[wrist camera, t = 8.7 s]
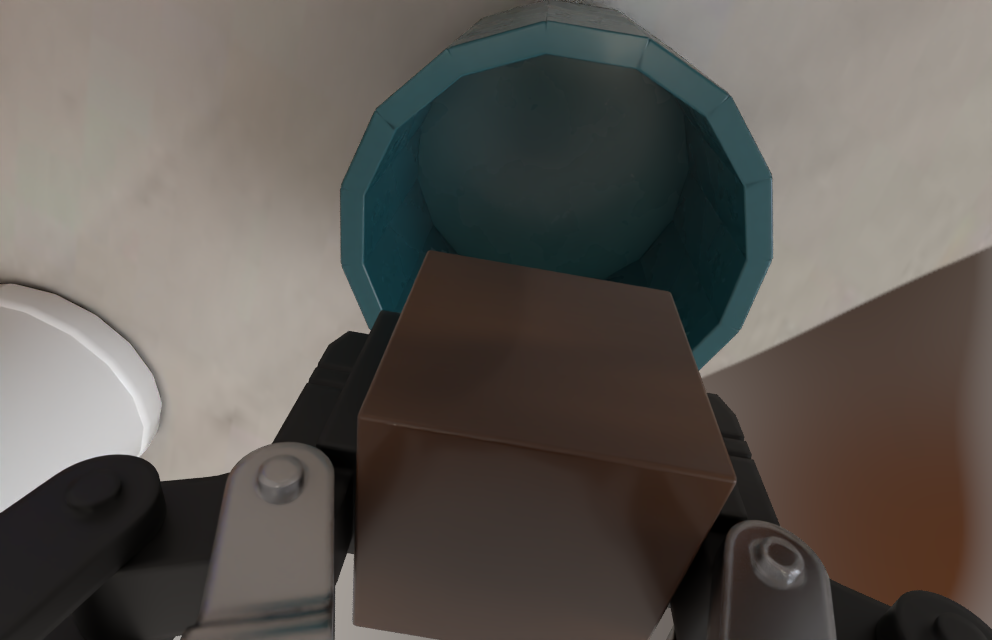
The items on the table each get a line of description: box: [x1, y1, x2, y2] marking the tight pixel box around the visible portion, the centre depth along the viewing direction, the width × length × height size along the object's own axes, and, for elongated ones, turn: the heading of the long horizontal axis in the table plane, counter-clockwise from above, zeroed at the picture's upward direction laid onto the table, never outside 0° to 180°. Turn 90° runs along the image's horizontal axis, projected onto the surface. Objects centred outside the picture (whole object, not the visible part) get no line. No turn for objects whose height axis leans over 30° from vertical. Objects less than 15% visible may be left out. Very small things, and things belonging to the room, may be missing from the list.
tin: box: [340, 0, 773, 370], centre depth 22 cm, size 14×14×10 cm
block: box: [352, 250, 737, 640], centre depth 9 cm, size 4×4×4 cm
